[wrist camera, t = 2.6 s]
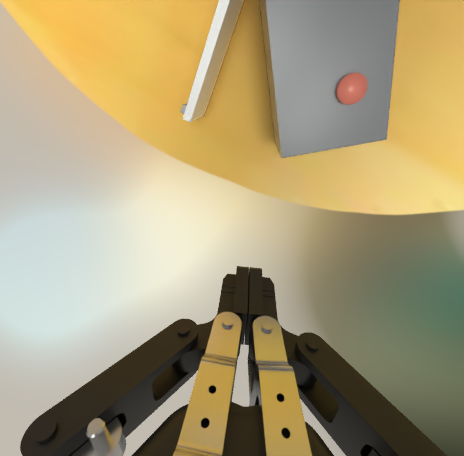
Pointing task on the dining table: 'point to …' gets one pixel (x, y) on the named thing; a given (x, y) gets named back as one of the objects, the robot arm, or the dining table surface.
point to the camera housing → (329, 71)
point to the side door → (212, 58)
